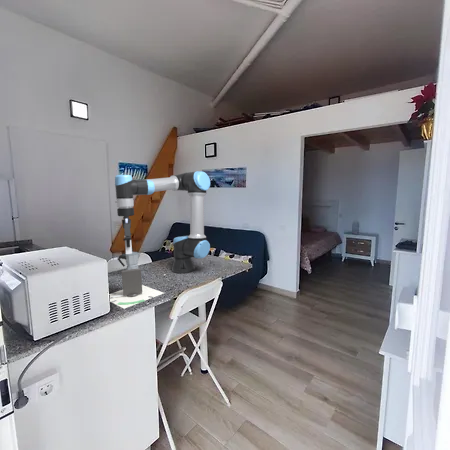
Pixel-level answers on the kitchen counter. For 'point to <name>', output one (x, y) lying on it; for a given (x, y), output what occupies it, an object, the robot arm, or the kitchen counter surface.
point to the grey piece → (131, 282)
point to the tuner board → (130, 301)
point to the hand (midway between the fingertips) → (128, 250)
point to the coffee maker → (130, 260)
